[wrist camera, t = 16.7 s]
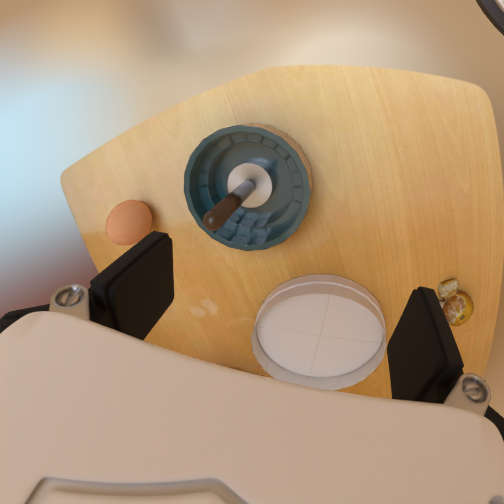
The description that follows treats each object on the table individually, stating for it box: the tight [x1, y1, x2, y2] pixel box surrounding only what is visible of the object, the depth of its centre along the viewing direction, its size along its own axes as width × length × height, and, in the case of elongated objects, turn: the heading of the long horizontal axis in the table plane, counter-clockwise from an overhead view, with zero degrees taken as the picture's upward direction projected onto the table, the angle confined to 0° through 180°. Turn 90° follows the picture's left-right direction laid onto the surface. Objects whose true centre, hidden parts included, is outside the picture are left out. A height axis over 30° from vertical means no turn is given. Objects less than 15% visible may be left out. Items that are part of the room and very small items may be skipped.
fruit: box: [438, 279, 474, 326], centre depth 39 cm, size 8×8×4 cm
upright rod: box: [203, 160, 276, 231], centre depth 33 cm, size 6×6×16 cm
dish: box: [251, 274, 386, 390], centre depth 47 cm, size 22×22×5 cm
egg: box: [105, 200, 152, 245], centre depth 43 cm, size 7×7×9 cm
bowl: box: [184, 123, 313, 251], centre depth 38 cm, size 16×16×6 cm
